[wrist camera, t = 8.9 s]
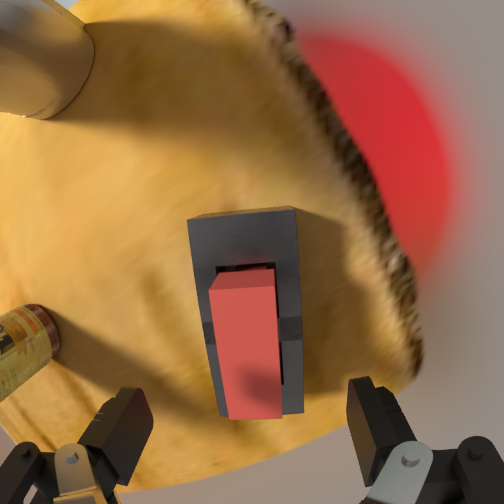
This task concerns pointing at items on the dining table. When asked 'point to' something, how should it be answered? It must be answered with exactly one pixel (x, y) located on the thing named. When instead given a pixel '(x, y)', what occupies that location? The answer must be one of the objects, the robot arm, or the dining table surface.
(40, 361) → the sauce bottle
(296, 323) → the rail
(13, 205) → the dining table surface
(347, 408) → the robot arm
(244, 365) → the red block
